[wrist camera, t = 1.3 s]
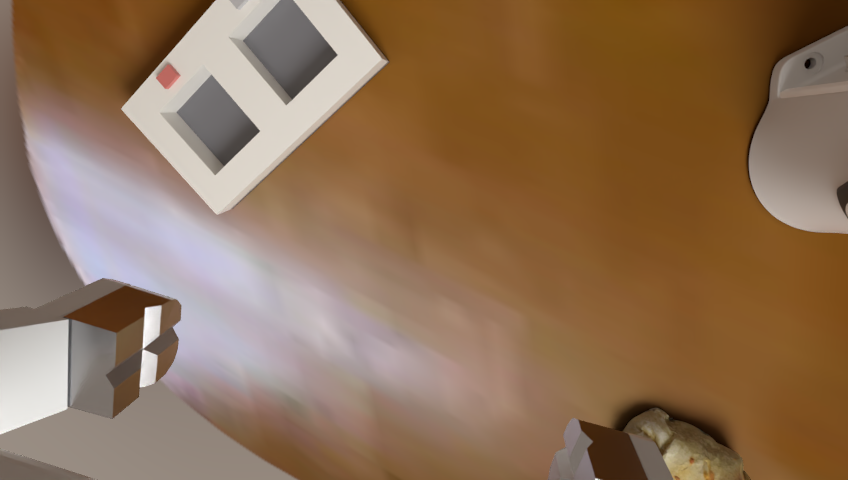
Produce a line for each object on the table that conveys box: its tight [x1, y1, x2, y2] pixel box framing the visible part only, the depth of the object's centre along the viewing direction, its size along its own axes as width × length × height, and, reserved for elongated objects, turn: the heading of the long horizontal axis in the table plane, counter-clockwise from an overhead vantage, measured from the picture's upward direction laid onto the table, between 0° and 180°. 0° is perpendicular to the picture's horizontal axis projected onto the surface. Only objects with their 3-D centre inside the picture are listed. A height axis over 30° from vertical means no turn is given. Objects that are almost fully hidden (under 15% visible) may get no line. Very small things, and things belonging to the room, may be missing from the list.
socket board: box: [121, 0, 389, 215], centre depth 43 cm, size 22×13×4 cm, turn 130°
